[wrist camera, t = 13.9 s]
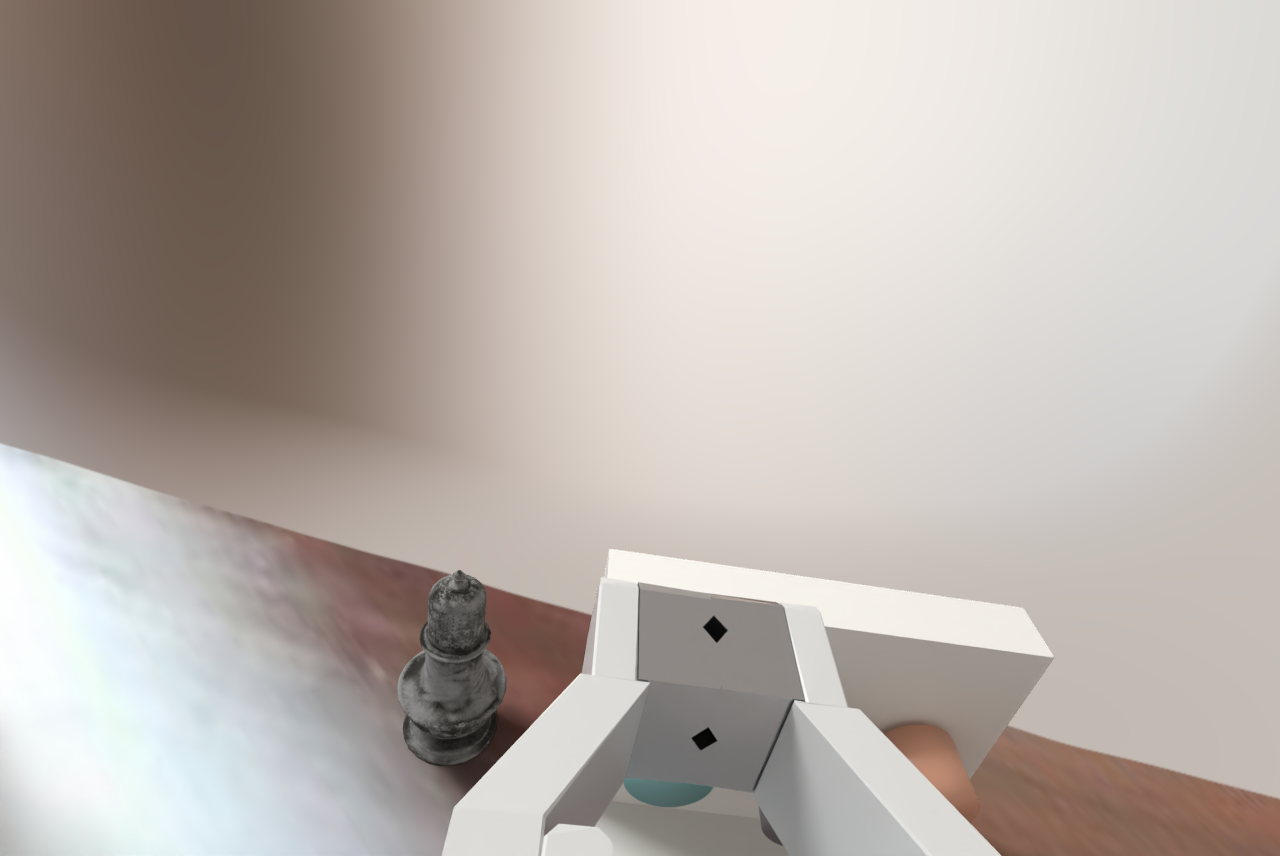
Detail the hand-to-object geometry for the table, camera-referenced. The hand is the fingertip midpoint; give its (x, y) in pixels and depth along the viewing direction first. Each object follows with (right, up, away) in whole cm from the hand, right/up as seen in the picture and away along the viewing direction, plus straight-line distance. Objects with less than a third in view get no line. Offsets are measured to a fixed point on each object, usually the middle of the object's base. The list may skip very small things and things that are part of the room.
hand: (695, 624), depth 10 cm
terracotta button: (+12, -15, +24) cm, 31 cm away
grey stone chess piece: (-12, -15, +31) cm, 36 cm away
